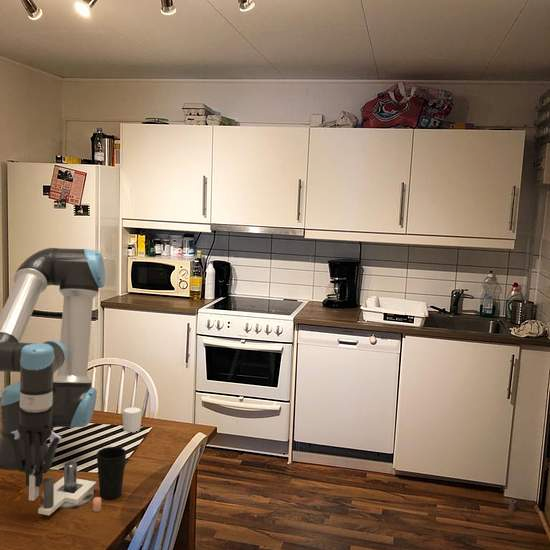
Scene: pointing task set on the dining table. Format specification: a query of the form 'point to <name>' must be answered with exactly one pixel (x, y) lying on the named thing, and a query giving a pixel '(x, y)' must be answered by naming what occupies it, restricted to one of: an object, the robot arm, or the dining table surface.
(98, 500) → the dowel
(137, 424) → the white cylinder
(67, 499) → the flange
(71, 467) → the base
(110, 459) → the cup
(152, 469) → the dining table surface
